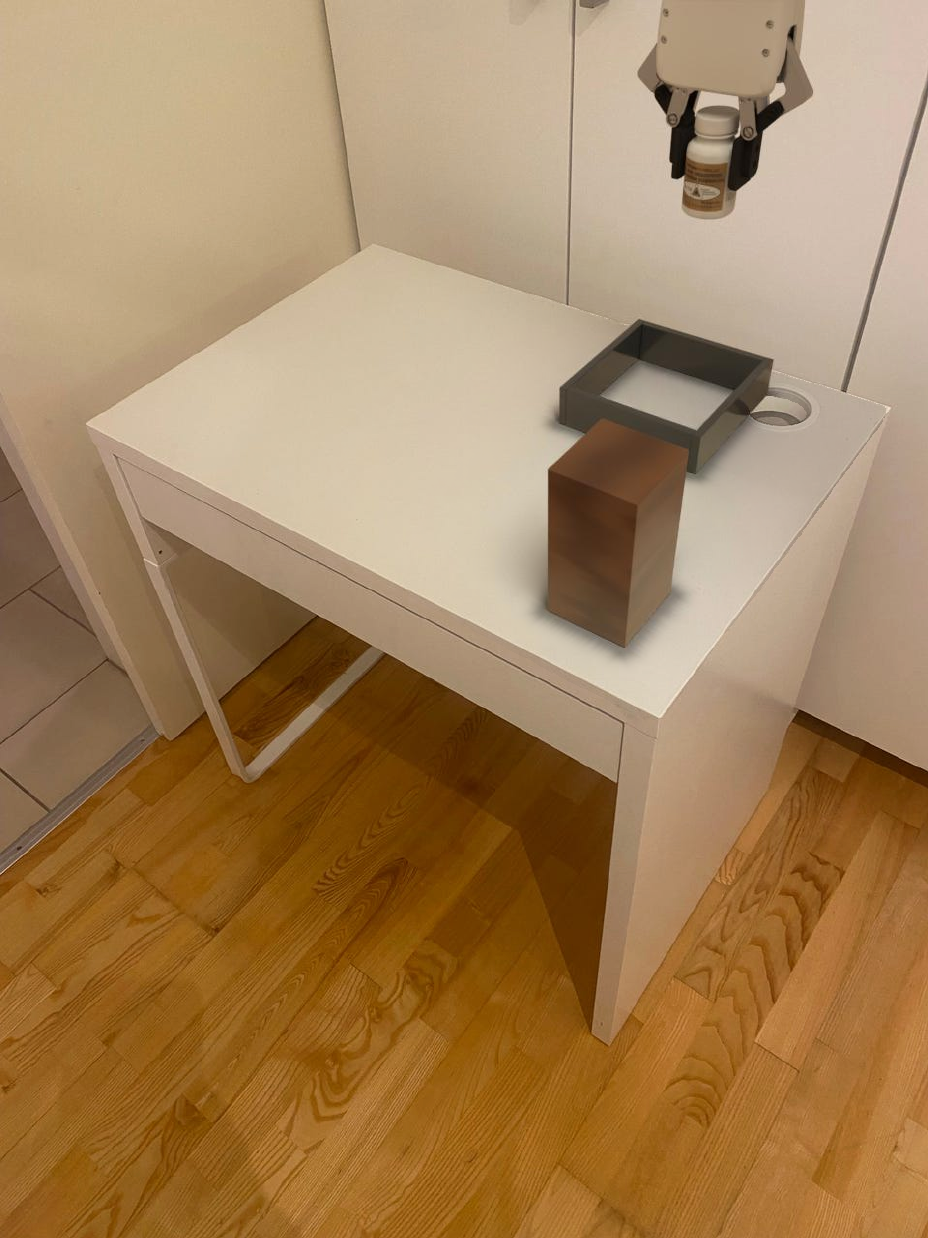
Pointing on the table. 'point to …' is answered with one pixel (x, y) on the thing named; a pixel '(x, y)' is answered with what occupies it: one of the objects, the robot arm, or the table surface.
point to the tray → (678, 354)
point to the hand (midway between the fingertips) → (711, 176)
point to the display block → (613, 529)
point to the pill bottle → (710, 164)
